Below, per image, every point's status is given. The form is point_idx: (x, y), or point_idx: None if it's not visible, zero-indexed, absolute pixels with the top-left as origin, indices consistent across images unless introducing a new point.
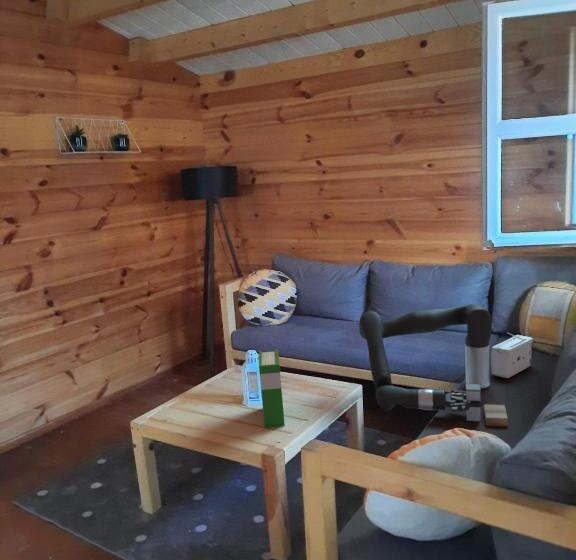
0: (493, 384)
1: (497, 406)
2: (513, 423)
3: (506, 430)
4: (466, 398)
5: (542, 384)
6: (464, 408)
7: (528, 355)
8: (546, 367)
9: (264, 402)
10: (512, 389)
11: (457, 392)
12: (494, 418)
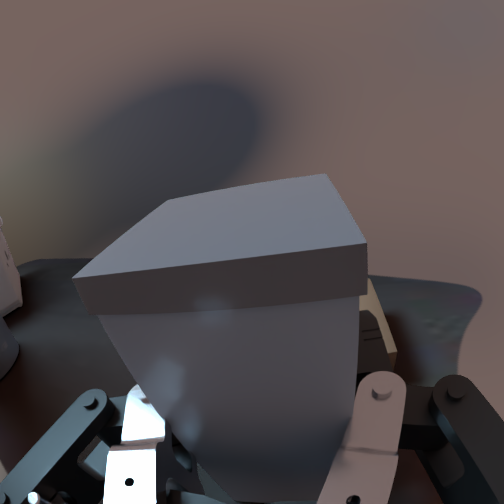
0: (18, 333)
1: None
2: None
3: (406, 313)
4: (299, 419)
5: (86, 263)
6: (445, 455)
7: (9, 253)
8: (40, 262)
9: None
10: (68, 302)
11: (52, 482)
12: (385, 319)
